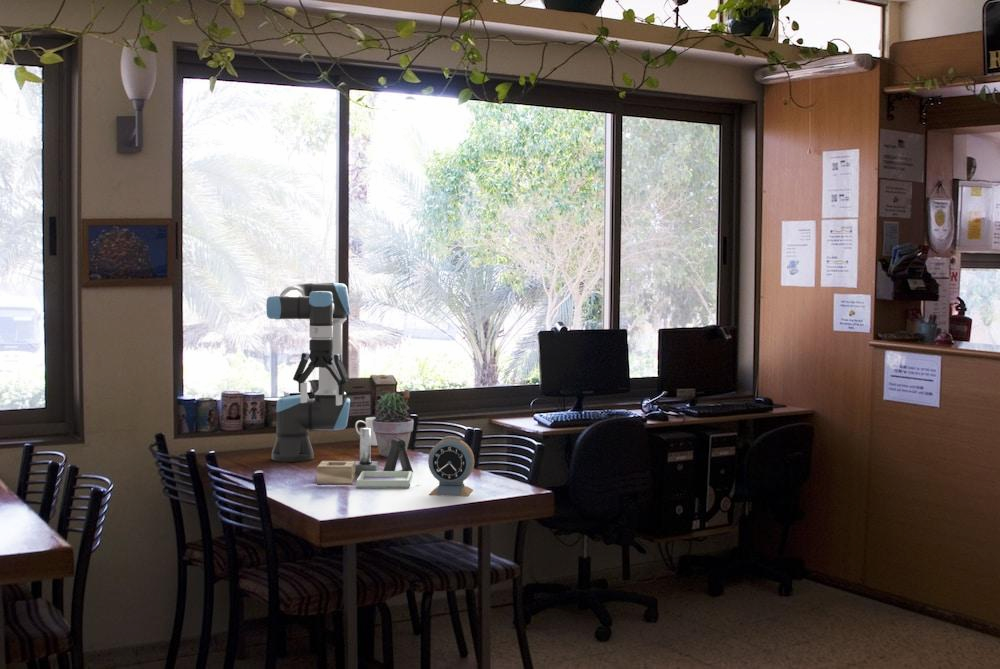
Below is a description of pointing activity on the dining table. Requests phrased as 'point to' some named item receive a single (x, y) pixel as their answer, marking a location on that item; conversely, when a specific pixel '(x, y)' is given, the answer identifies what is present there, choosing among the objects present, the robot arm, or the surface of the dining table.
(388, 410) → the potted plant
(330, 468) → the bore block
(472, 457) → the alarm clock
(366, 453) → the white peg
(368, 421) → the white pitcher
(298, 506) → the dining table surface
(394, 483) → the tray
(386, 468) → the dark grey a-frame stand
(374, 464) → the gauge stand
